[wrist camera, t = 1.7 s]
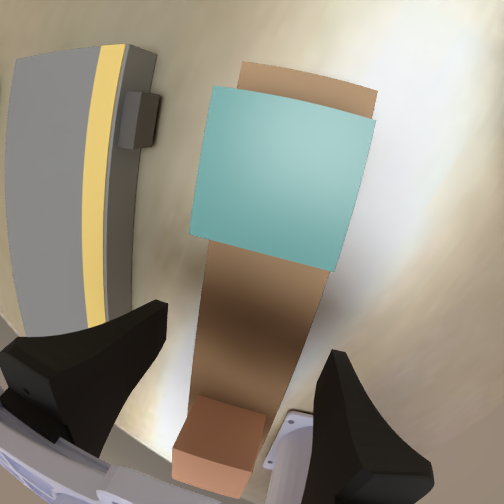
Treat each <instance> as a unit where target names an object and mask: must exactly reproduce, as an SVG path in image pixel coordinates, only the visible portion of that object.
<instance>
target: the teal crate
mask: <svg viewBox="0 0 504 504" xmlns="http://www.w3.org/2000/svg"><path fill="white" fill-rule="evenodd" d="M375 123H376V120H373V119H369V118H366V117H363V116H359V115H356V114H352V113H349V112H345V111H342V110H338V109H334V108H330V107H326V106H322V105H318V104H314V103H310V102H305V101H301V100H296V99H291V98H287V97H282V96H276V95H271V94H266V93H260V92H254V91H248V90H242V89H235V88H228V87H220V86H213V91H212V96H211V101H210V106H209V111H208V117H207V122H206V128H205V133H204V139H203V144H202V150H201V156H200V162H199V168H198V175H197V181H196V188H195V194H194V201H193V208H192V215H191V222H190V230H189V234H190V235H194V236H198V237H202V238H205V239H209V240H213V241H217V242H221V243H224V244H228V245H232V246H236V247H240V248H243V249H247V250H251V251H255V252H259V253H263V254H266V255H270V256H274V257H278V258H282V259H285V260H289V261H293V262H297V263H301V264H304V265H308V266H312V267H316V268H320V269H323V270H327V271H331V272H334V270H335V267H336V264H337V261H338V258H339V255H340V252H341V249H342V245H343V242H344V239H345V236H346V232H347V229H348V226H349V222H350V219H351V216H352V212H353V209H354V205H355V202H356V198H357V194H358V191H359V187H360V183H361V180H362V176H363V172H364V168H365V164H366V160H367V156H368V152H369V148H370V144H371V140H372V136H373V132H374V127H375Z"/></svg>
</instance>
